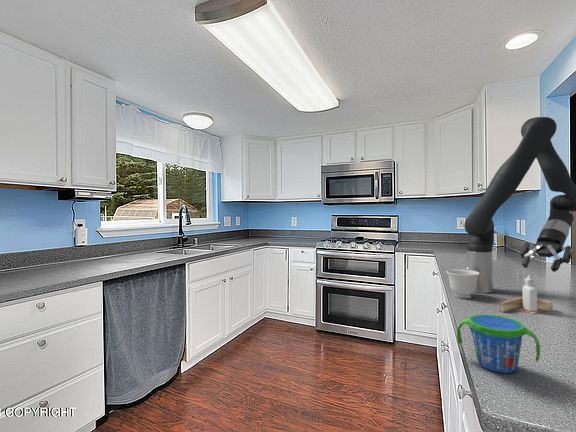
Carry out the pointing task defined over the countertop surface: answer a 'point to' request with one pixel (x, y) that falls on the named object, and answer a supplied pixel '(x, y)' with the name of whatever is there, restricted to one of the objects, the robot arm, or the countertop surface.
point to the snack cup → (497, 341)
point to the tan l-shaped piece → (519, 303)
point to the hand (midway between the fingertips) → (538, 268)
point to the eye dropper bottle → (529, 295)
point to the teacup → (463, 282)
